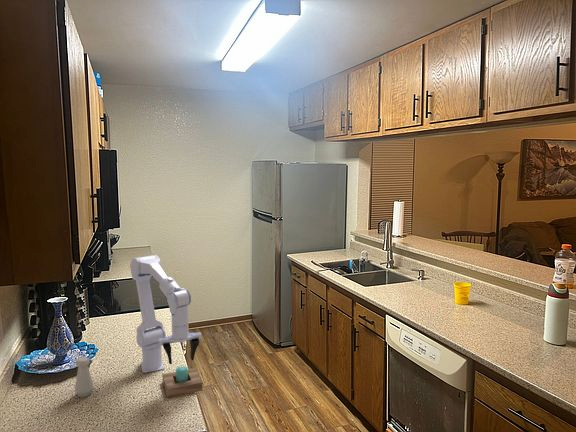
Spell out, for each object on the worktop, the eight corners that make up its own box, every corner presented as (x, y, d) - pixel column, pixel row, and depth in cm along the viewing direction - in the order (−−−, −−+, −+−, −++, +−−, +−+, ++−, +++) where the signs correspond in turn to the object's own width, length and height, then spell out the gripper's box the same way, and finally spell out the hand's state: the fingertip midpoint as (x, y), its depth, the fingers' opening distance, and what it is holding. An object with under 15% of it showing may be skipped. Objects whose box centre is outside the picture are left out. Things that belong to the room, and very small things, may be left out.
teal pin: (175, 383, 159) (175, 367, 158) (186, 381, 161) (186, 365, 160) (177, 388, 156) (176, 372, 155) (188, 386, 157) (188, 370, 156)
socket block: (162, 382, 161) (162, 374, 161) (195, 375, 166) (195, 368, 166) (167, 397, 150) (167, 389, 150) (202, 390, 155) (202, 382, 155)
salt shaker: (88, 388, 157) (86, 353, 156) (96, 393, 153) (94, 357, 152) (72, 395, 153) (70, 359, 151) (80, 400, 149) (78, 363, 148)
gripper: (160, 331, 149) (161, 369, 151) (203, 324, 155) (204, 361, 157) (157, 324, 156) (159, 361, 157) (198, 318, 161) (199, 354, 163)
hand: (181, 361), depth 157 cm, fingers open, 7 cm apart
